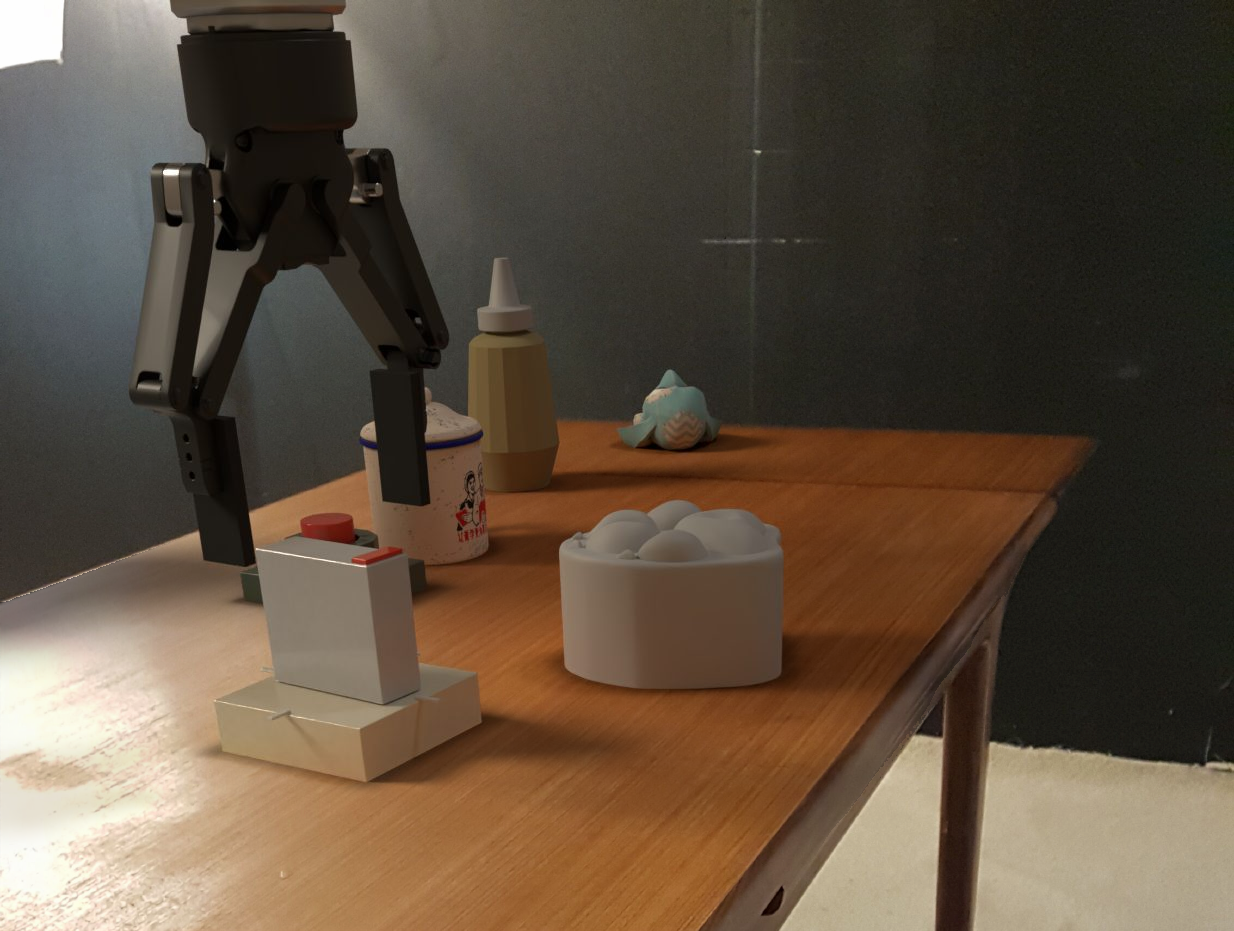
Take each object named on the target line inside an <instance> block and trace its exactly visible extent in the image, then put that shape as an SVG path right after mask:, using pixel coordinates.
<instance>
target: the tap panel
mask: <svg viewBox="0 0 1234 931" xmlns="http://www.w3.org/2000/svg"><path fill="white" fill-rule="evenodd" d="M417 652H418V657H419V656H421V652H420V651H417ZM259 671H260V672H261V673H267V674H272V675H270V676H269V677H266V678H264V679H262V680H259V681H257V682H254V683H252V684H250V685H247V686H245V687H243V688H240V689H238V690H236V691H232V692H230V693H228V694H225V695H223V696H221V697H219V698H216V699H214V700H213V704H214V711H215V716H216V722H217V728H218V732H219V738H220V739H219V740H220V744H221V745H220V746H221V750H222V752H225V753H229V754H233V755H239V756H242V757H248V758H253V759H257V760H262V761H266V762H271V763H275V764H281V765H285V766H289V767H294V768H299V769H304V770H307V771H313V772H317V773H323V774H327V775H331V776H336V777H339V778H340V777H341V778H344V779H350V780H354V781H358V782H359V781H360V782H364V783H368V782H370V781H372V780H373V779H376V778H377V777H380V776H381V775H383V774H386V773H387V772H389V771H391V770H393V769H395V768H397V767H399V766H400V765H402V764H405V763H407V762H409V761H411V760H412V759H414V758H416V757H419V756H420V755H421V754H424V753H426V752H427V751H429V750H431V749H434V748H435V747H437V746H439V745H441V744H443V743H445V742H447V741H450V739H452V738H454V737H457V736H458V735H460V734H462V733H464V732H466V731H468V730H470V729H472V728H474V727H475V726H478V725H479V724H481V723H483V722H482V708H481V697H480V696H481V695H480V685H479V672H476V671H472V670H471V671H470V670H466V669H465V670H464V669H459V668H453V667H447V666H441V665H435V664H429V663H424V662H423V663H422V662H419V671H420V681H421V689H419V690H417V691H415V692H412V693H410V694H407V695H405V696H403V697H400V698H398V699H396V700H393V701H391V702H388V703H386V704H384V705H383V704H378V703H373V702H369V701H365V700H360V699H356V698H351V697H347V696H342V695H338V694H333V693H329V692H324V691H320V690H315V689H311V688H306V687H302V686H297V685H293V684H288V683H284V682H279V681H276V680H275V676H274V670H273V667H267V666H262V667H261V668H259Z"/></svg>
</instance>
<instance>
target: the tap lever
mask: <svg viewBox="0 0 1234 931" xmlns="http://www.w3.org/2000/svg"><path fill="white" fill-rule="evenodd" d="M284 539H285V538H284ZM284 539H282V540H278V541H275V542H271V543H268V544H265V545H261V546H258V547H255V548H254V551H255V558H256V566H258V572H259V579H260V585H261V592H262V598H263V604H262V605H263V611H264V617H265V623H266V630H267V636H268V644H269V650H270V656H271V662H272V668H273V670H274V674H273V675H274V676H275V680H276V681H279V682H284V683H288V684H293V685H297V686H302V687H306V688H311V689H315V690H320V691H324V692H329V693H333V694H338V695H342V696H347V697H351V698H356V699H360V700H365V701H369V702H373V703H378V704H383V705H384V704H386V703H388V702H391V701H393V700H396V699H398V698H400V697H403V696H405V695H407V694H410V693H412V692H415V691H417V690H419V689H421V681H420V671H419V663H420V662H419V656H418V652H419V651H418V644H417V634H416V624H415V615H414V606H413V605H414V604H413V595H412V594H411V585H410V575H409V565H408V556H407V554H406V553H403V550H402V548H396V547H389V546H387V547H384V548H381V549H375V548H368V547H362V546H355V545H349V544H343V543H336V542H330V541H323V540H317V539H310V538H304V537H298V536H295V537H291V538H288V539H285V540H284Z"/></svg>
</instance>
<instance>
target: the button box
mask: <svg viewBox="0 0 1234 931" xmlns="http://www.w3.org/2000/svg"><path fill="white" fill-rule="evenodd" d="M354 531H355V539H356V541H354V542H351V543H349V545H355V546H362V547H368V548H375V549H379V542H378V535H376V534H375V533H373V531H371V530H369V529H361V528H354ZM295 536H298V537H302V533H301V532H298V533H295V534H292V535H289V536H285V538H284V539H283V540H285V539H288V538H291V537H295ZM408 565H409V575H410V585H411V594H412V596H413V595H416V594H418V593H420V592H423V591H425V590H427V589H428V585H427V574H426V566H425V563H424V560H419V559H411V558H408ZM239 575H240V581H241V586H242V587H241V588H242V593H243V594H242V595H243V599H244V602H250V603H255V604H260V605H263V598H262V592H261V585H260V579H259V572H258V566H257V565H256V566H254V567H251V568H248V569H244V570H242V571H240V572H239Z"/></svg>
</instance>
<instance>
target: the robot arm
mask: <svg viewBox="0 0 1234 931" xmlns="http://www.w3.org/2000/svg"><path fill="white" fill-rule="evenodd" d="M346 1H347V0H169V5H170V12H171V13H172V14H174V16H175V17H176V18H177V19H185V20H186V30H187V34H183V35H180V37H179V39H180V43H178V44H176V49H177V56H178V63H179V69H180V76H181V77H180V78H181V84H182V90H183V97H184V98H183V99H184V104H185V112H186V118H187V122H188V124H189V126H190V128H191V129H192V130H193V131H194V132H196V133H198V134H200V135H201V137H202V140H203V142H204V147H205V148H204V149H205V157H204V159H205V160H204V163H202V162H156V163H154V165H153V166H151V167H152V168H151V170H150V189H151V199H152V200H151V201H152V210H153V229H152V236H151V242H150V248H149V255H148V261H147V266H146V267H147V268H146V274H145V280H144V281H145V282H144V288H143V292H142V293H143V294H142V301H141V307H140V313H139V321H138V327H137V333H136V339H135V347H134V351H133V359H132V366H131V372H130V378H129V385H128V395H129V399H130V401H131V403H132V404H133V405H134V406H135V407H138V408H145V409H150V410H152V412H153V413H154V414H156V415H159V416H167V417H168V419H169V420H170V423H171V424H172V428H173V434H174V440H175V444H176V445H175V446H176V453H177V459H178V464H179V468H180V476H181V481H182V485H183V487H184V489H185V491H186V493H189V494H192V498H193V503H194V504H193V505H194V509H195V515H196V523H197V529H198V534H199V541H200V546H201V552H202V559H203V561H204V562H210V563H216V564H223V565H228V566H235V567H241V568H247V567H250V566H253V565H257V559H256V553H255V545H254V539H253V533H252V531H253V530H252V525H251V524H252V523H251V518H250V511H249V504H248V497H247V490H246V483H245V476H244V470H243V469H244V468H243V462H242V457H241V455H242V454H241V449H240V442H239V435H238V428H237V422H236V416H230V415H229V416H228V415H220V414H219V413H220V410H221V407H222V405H223V401H224V399H225V396H226V394H227V390H228V387H229V385H230V382H231V379H232V377H233V373H234V371H235V368H236V365H237V363H238V359H239V357H240V354H241V352H242V348H243V346H244V343H245V340H246V337H247V334H248V332H249V329H250V326H251V323H252V321H253V318H254V315H255V312H256V309H257V307H258V304H259V302H260V298H261V295H262V293H263V290H264V288H265V287H266V286H267V285H269V284H270V283H272V282H273V281H274V280H275V279H276V277H277V275H278V272H279V271H292V270H297V269H298V268H300V267H301V266H304V265H305V266H312V267H314V268H316V269H317V270H319V271H320V272H321V274H322V275H323V278H325V280H326V281H327V283H328V284H329V286H330V287H331V289H332V290H333V292H334V293H335V295H336V297H337V298H338V299H339V301H340V302H341V304H342V306H343V307H344V308H345V310H346V312H347V313H348V314H349V316H350V318H351V319H352V320H353V322H354V324H355V325H356V326H357V328H358V330H359V331H360V333H361V335H362V336H363V337H364V338H365V340H366V342H367V343H368V345H369V346H370V348H371V349H372V351H373V352H374V354H375V355H376V357H377V358H378V360H379V361H380V363H381V364H382V365H383V366H385V367H386V368H376V369H371V370H369V379H370V392H371V402H372V411H373V422H375V432H376V442H377V451H378V461H379V471H380V481H381V491H382V501H383V502H390V503H398V504H406V505H413V506H421V507H422V506H425V505H428V504H431V502H430V490H429V478H428V466H427V455H426V443H425V433H426V429H427V411H426V402H425V401H426V398H425V387H426V386H425V377H424V376H425V375H424V374H425V373H424V370H432V371H433V370H435V371H436V370H437V369H438V368H439V367H440V365H441V362H442V353H441V352H442V351H444V350H445V349H447V348H448V346H449V343H450V332H449V328H448V326H447V323H446V320H445V318H444V314H443V312H442V309H441V307H440V304H439V301H438V299H437V296H436V293H435V291H434V288H433V285H432V283H431V280H430V278H429V275H428V271H427V269H426V267H425V264H424V261H423V258H422V256H421V252H420V250H419V247H418V244H417V242H416V239H415V237H414V236H415V235H414V234H413V231H412V229H411V226H410V223H409V220H408V218H407V215H406V212H405V209H404V207H403V204H402V202H401V201H402V200H401V196H400V190H399V184H398V177H397V170H396V163H395V158H394V155H393V152H391V150H390V149H389V148H386V147H346V145H345V144H346V143H345V141H344V140H345V139H344V131H346V130H349V129H352V127H354V126H355V125H356V123H357V120H358V117H359V114H358V113H359V112H358V102H357V91H356V80H355V70H354V60H353V50H352V40H351V39H347V37H346V36H347V35H346V32H345V31H338V30H337V31H336V30H335V23H334V16H339V15H343V13H344V11H345V10H346V8H347V2H346ZM216 216H217V217H216ZM215 217H216V219H215ZM417 319H419V321H420V322H417V321H416V320H417ZM161 377H162V378H161Z"/></svg>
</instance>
